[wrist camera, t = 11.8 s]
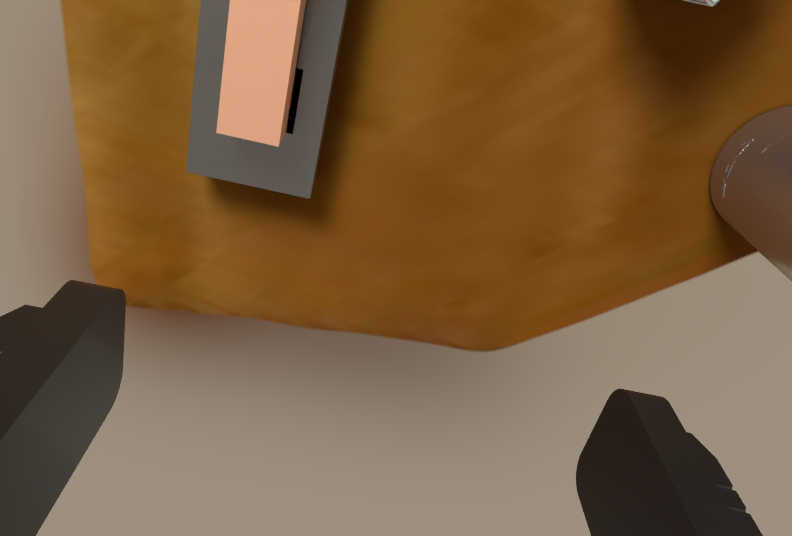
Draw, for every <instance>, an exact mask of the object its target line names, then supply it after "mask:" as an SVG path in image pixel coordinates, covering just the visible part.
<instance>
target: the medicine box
mask: <svg viewBox="0 0 792 536" xmlns="http://www.w3.org/2000/svg"><path fill="white" fill-rule="evenodd" d="M683 1H688V2H692V3H697V4H702V5H706V6H710V7H712V6H714V5H716V4H717V3H718V2H719V1H720V0H683Z"/></svg>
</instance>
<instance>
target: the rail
mask: <svg viewBox="0 0 792 536" xmlns="http://www.w3.org/2000/svg"><path fill="white" fill-rule="evenodd" d="M349 1H350V0H306V5H305V11H304V18H303V24H302V30H301V37H300V43H299V50H298V56H297V63H296V68H298V69H302V70H303V75H302V81H301V88H300V94H299V100H298V106H297V112H296V118H293V117H288V121H287V127H286V134H285V136H284V138H283V140H282V142H281V143H280V145H279V147H277V146H273V145H268V144H264V143H259V142H255V141H251V140H246V139H242V138H237V137H233V136H228V135H224V134H219V133H216V130H217V120H218V111H219V101H220V91H221V82H222V72H223V62H224V52H225V43H226V33H227V23H228V14H229V4H230V0H201V5H200V17H199V28H198V40H197V52H196V63H195V75H194V87H193V99H192V110H191V122H190V134H189V145H188V157H187V169H186V172H189V173H193V174H198V175H202V176H207V177H212V178H216V179H221V180H225V181H230V182H234V183H239V184H244V185H248V186H253V187H257V188H262V189H267V190H271V191H276V192H280V193H285V194H290V195H294V196H299V197H303V198H308V199H310V197H311V194H312V191H313V188H314V185H315V182H316V178H317V172H318V167H319V161H320V156H321V151H322V145H323V140H324V135H325V129H326V124H327V119H328V113H329V108H330V102H331V97H332V92H333V86H334V81H335V76H336V70H337V65H338V60H339V54H340V49H341V44H342V38H343V33H344V27H345V22H346V17H347V11H348V6H349Z"/></svg>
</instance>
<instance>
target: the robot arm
mask: <svg viewBox="0 0 792 536" xmlns="http://www.w3.org/2000/svg"><path fill="white" fill-rule="evenodd" d="M710 193H711V198H712V201H713V204H714V207H715V209H716V210H717V212H718V213H719V215H720V216H721V217H722V218H723V219H724V220H725V221H726V222H727V223H728V224H729V225H730V226H732V227H733V228H734V229H735V230H736V231H737V232H738V233H739V234H740V235H742V236H743V237H744V238H745V239H746V240H747V241H748V242H749V243H750V244H751V245H752V246H753V247H754V248H755V249H757V250H758V251H759V252H760V253H761V254H762V255H763V256H764V257H766V258H767V259H768V260H769V261H770V262H771V263H772V264H773V265H774V266H776V267H777V268H778V269H779V270H780V271H781V272H782V273H783V274H785V275H786V276H787V277H788V278H789V279H790V280H791V281H792V106H788V107H782V108H777V109H774V110H771V111H769V112H766V113H763V114H761V115H759V116H758V117H756V118H754V119H752V120H751V121H749V122H747V123H746V124H745V125H744V126H743V127H741V128H740V129H739V130H738V131H736V132H735V133H734V135H733V136H732V137H731V138H730V139H729V140H728V141H727V143H726V144H725V145H724V147H723V148H722V150H721V152H720V153H719V155H718V156H717V158H716V161H715V164H714V166H713V169H712V173H711V180H710ZM125 307H126V299H125V293H124V291H123V290H121V289H116V288H111V287H106V286H101V285H96V284H91V283H85V282H80V281H75V280H70V281H68V282H67V283H66V284H65V285H64V286H63V287H62V288H61V289H60V290H59V291H58V292H57V293H56V294H55V295H54V296H53V298H52V299H51V300H50V301H49V302H48V303H47V304H46V305H45V306H44V307H43V308H40V307H34V306H29V305H24V306H22V307H20V308H18V309H16V310H14V311H11V312H9V313H7V314H5V315H3V316H1V317H0V536H36V534H37V532H38V531H39V529H40V527H41V526H42V524H43V522H44V521H45V519H46V517H47V516H48V513H49V512H50V511H51V509H52V507H53V506H54V504H55V502H56V500H57V499H58V497H59V495H60V494H61V492H62V490H63V489H64V487H65V485H66V484H67V482H68V480H69V478H70V477H71V475H72V474H73V472H74V470H75V469H76V467H77V465H78V464H79V462H80V460H81V459H82V457H83V455H84V453H85V452H86V450H87V448H88V447H89V445H90V443H91V441H92V440H93V438H94V437H95V435H96V433H97V432H98V430H99V428H100V426H101V425H102V423H103V422H104V420H105V418H106V416H107V415H108V413H109V412H110V410H111V408H112V406H113V404H114V401H115V399H116V396H117V393H118V390H119V387H120V383H121V378H122V372H123V354H124V353H123V352H124V329H125ZM576 485H577V492H578V496H579V499H580V502H581V505H582V508H583V511H584V514H585V518H586V521H587V524H588V527H589V530H590V533H591V536H762V534H761V532H760V530H759V529H758V527H757V526H756V524H755V522H754V520H753V519H752V517H751V515H750V514H748V513H746V511H745V510H746V507H745V505H744V504H743V502H742V500H741V499H740V497H739V495H738V494H737V492H736V491H733V490H732V484H731V482H730V480H729V479H728V477H727V475H726V474H725V472H724V470H723V469H722V467H721V465H720V464H719V462H718V460H717V459H716V458H715V457H714V456H713V455H712V454H711V453H710V452H709V451H708V450H707V449H706V448H705V447H704V446H703V445H702V444H701V443H700V442H699V441H698V440H697V439H696V438H695V437H694V436H693V435H692V434H691V433H687V432H686V431H685V429H684V428H683V426H682V424H681V422H680V421H679V419H678V417H677V415H676V414H675V412H674V410H673V408H672V407H671V405H670V403H669V402H668V401H667V400H666V399H665V398H663V397H660V396H655V395H649V394H644V393H639V392H634V391H629V390H624V389H617V390H615V391H614V392H613V393H612V394H611V395H610V397H609V399H608V400H607V402H606V404H605V406H604V408H603V410H602V412H601V414H600V416H599V418H598V420H597V423H596V424H595V426H594V429H593V430H592V432H591V434H590V437H589V439H588V441H587V443H586V445H585V447H584V449H583V451H582V453H581V455H580V458H579V461H578V465H577V471H576Z"/></svg>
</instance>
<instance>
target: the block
mask: <svg viewBox="0 0 792 536" xmlns="http://www.w3.org/2000/svg"><path fill="white" fill-rule="evenodd" d="M305 5H306V0H230V4H229V14H228V23H227V33H226V43H225V52H224V62H223V72H222V82H221V91H220V101H219V111H218V120H217V130H216V133H219V134H224V135H228V136H233V137H237V138H242V139H246V140H251V141H255V142H259V143H264V144H268V145H273V146H277V147H279V145H280V143H281V142H282V140H283V138H284V136H285V134H286V127H287V121H288V114H289V109H290V107H291V106H292V102H293V95H294V89H295V83H296V76H297V70H298V68H296V63H297V56H298V50H299V43H300V37H301V30H302V24H303V18H304V11H305Z"/></svg>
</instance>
